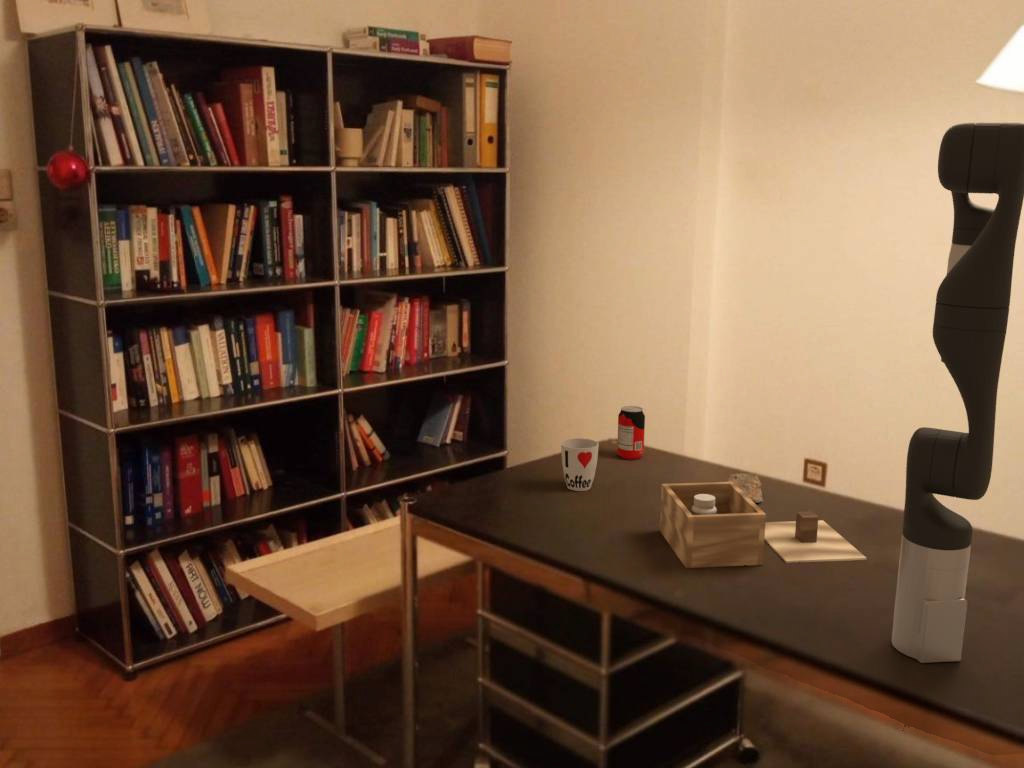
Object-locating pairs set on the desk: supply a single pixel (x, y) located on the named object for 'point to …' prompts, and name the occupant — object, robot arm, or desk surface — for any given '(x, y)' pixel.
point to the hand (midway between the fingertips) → (961, 367)
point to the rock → (747, 485)
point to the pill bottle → (703, 505)
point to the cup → (579, 462)
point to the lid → (808, 541)
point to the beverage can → (631, 432)
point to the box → (712, 526)
